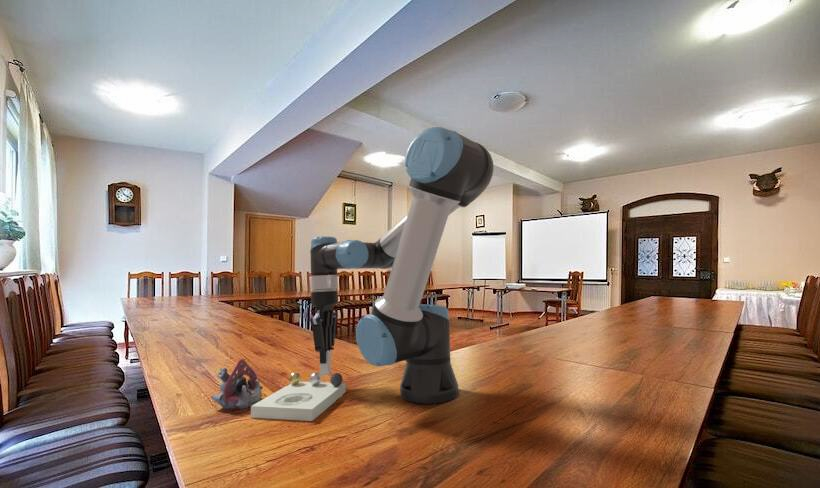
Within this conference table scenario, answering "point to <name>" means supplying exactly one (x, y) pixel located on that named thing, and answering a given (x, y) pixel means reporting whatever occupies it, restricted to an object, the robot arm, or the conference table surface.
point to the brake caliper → (238, 387)
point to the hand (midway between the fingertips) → (325, 374)
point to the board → (298, 401)
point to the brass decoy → (294, 378)
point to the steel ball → (315, 378)
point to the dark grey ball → (336, 379)
